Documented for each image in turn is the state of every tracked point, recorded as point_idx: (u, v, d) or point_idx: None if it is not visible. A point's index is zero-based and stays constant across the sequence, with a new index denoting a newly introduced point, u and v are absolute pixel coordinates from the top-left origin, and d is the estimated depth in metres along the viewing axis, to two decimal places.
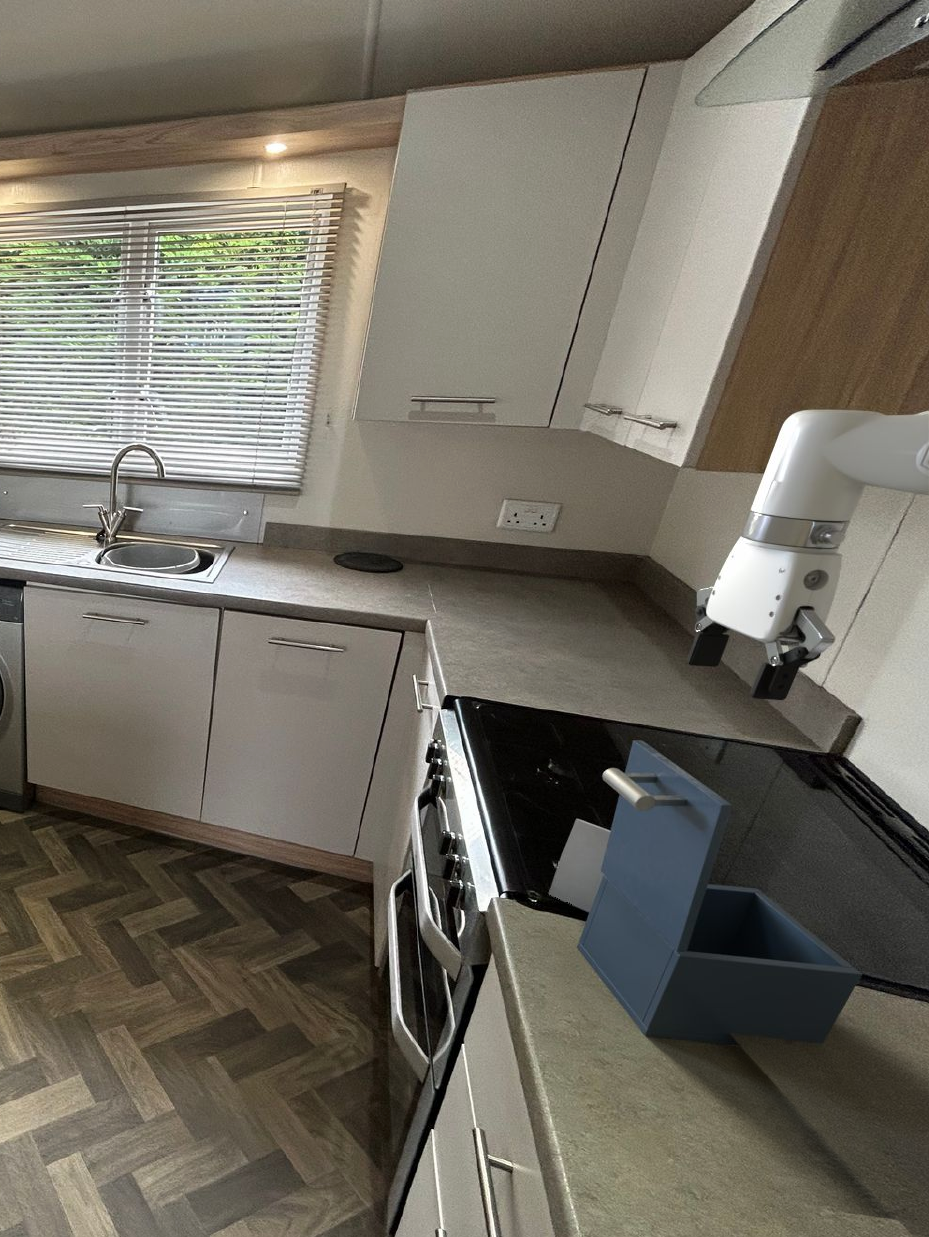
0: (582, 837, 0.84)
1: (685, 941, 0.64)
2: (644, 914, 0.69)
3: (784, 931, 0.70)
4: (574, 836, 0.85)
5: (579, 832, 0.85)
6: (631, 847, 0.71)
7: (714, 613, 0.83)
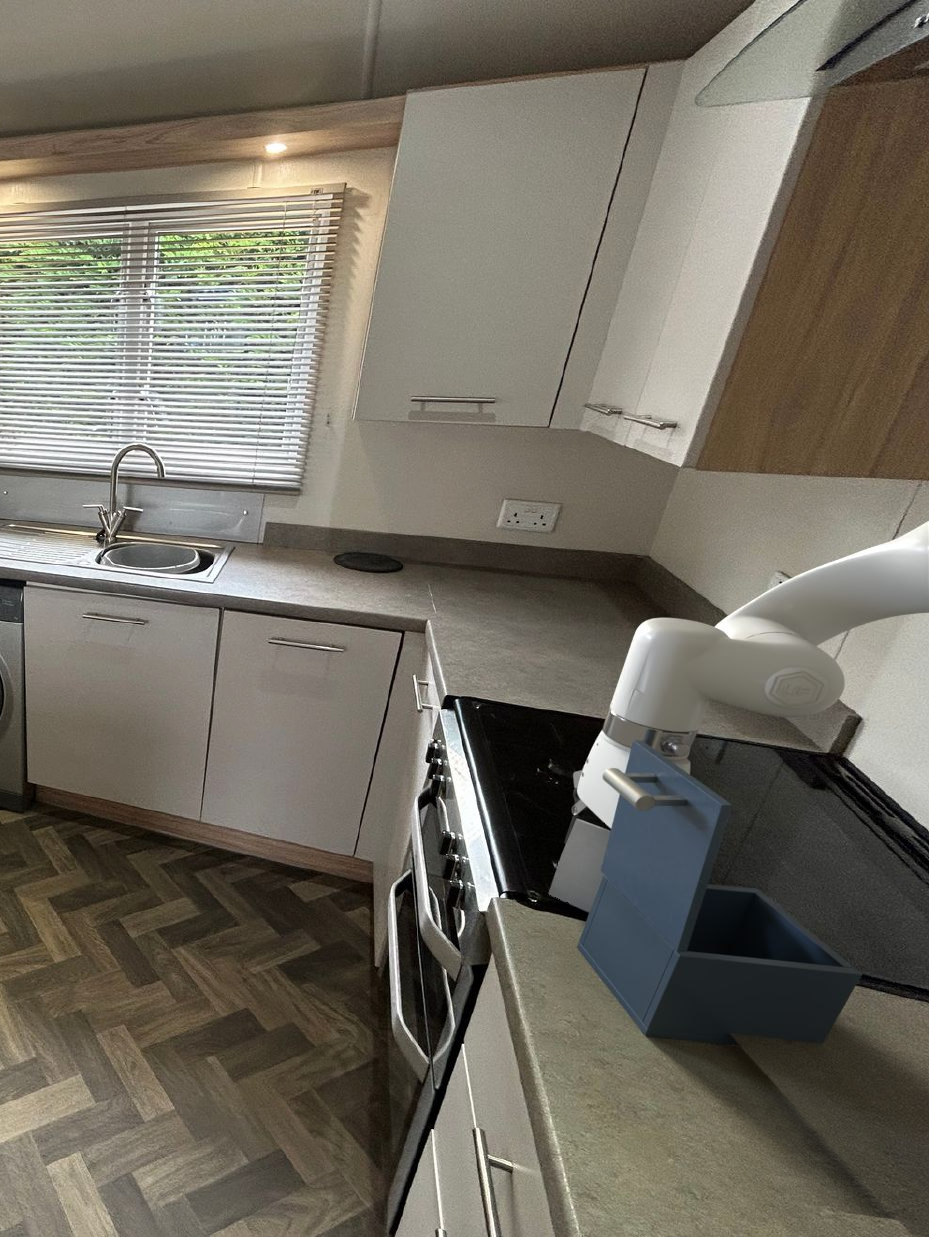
0: (582, 837, 0.84)
1: (685, 941, 0.64)
2: (644, 914, 0.69)
3: (784, 931, 0.70)
4: (574, 836, 0.85)
5: (579, 832, 0.85)
6: (631, 847, 0.71)
7: (583, 795, 0.85)
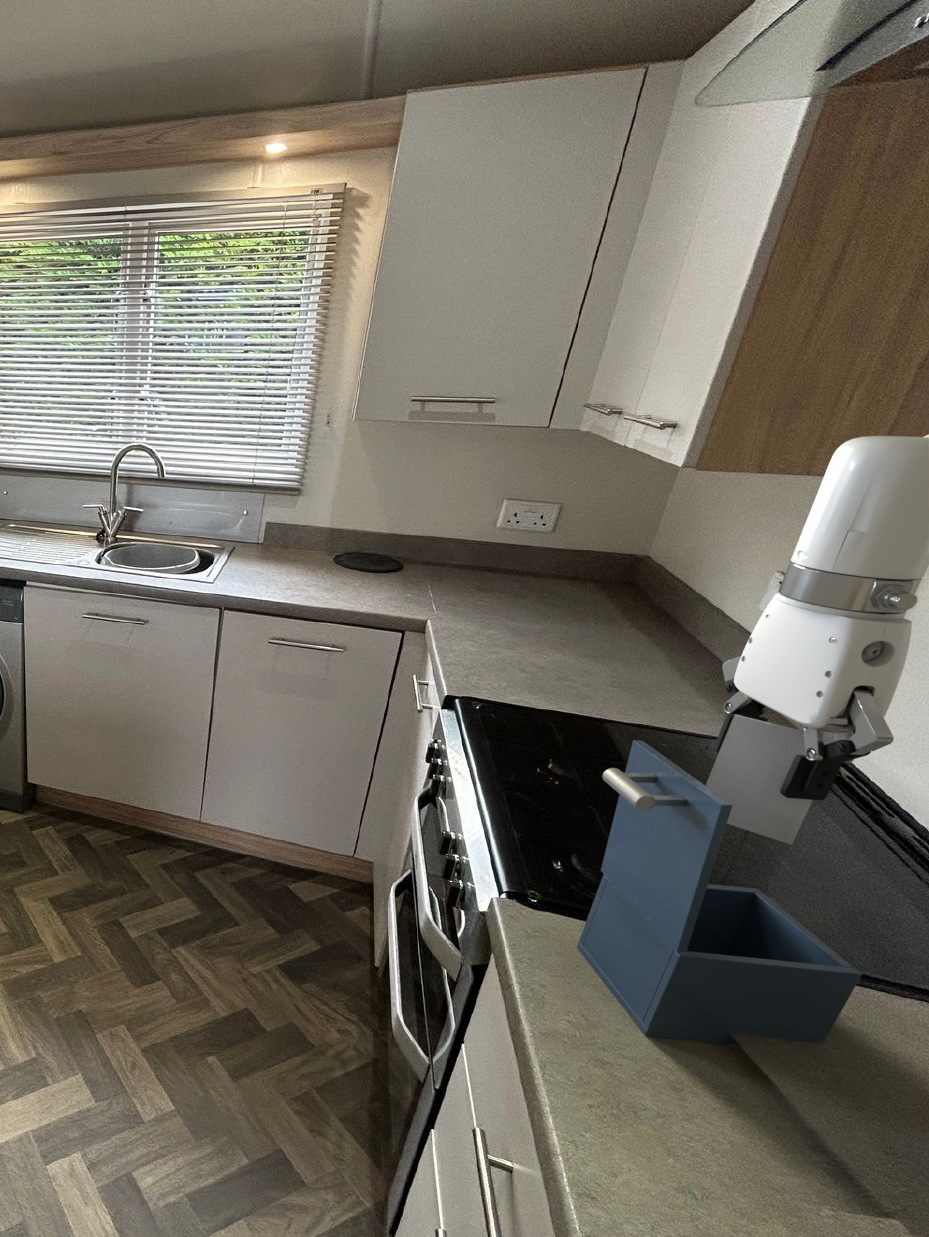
0: (744, 737, 0.67)
1: (685, 941, 0.64)
2: (644, 914, 0.69)
3: (784, 931, 0.70)
4: (732, 736, 0.67)
5: (739, 731, 0.67)
6: (631, 847, 0.71)
7: (744, 684, 0.67)
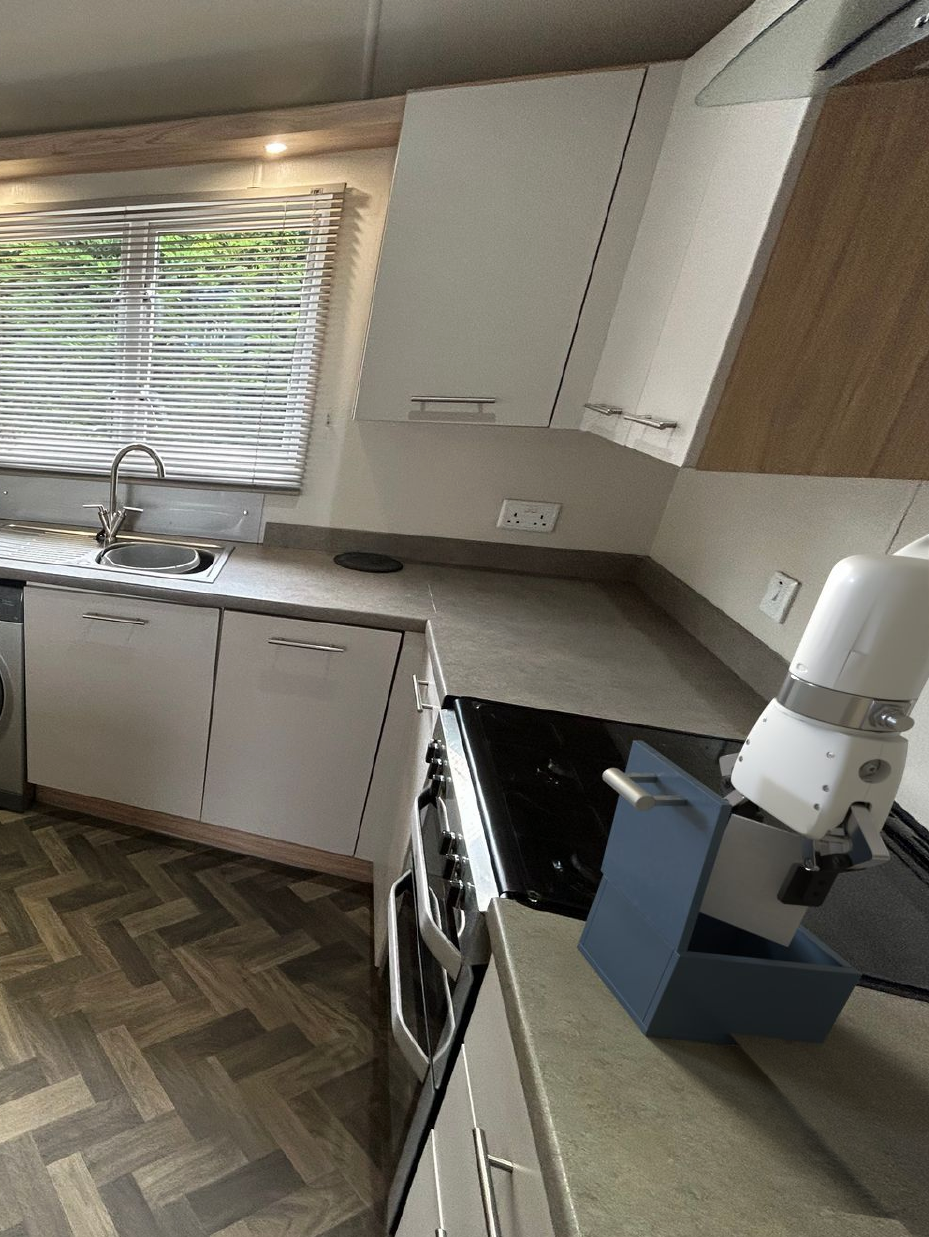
0: (741, 837, 0.67)
1: (685, 941, 0.64)
2: (644, 914, 0.69)
3: None
4: (729, 836, 0.68)
5: (736, 831, 0.67)
6: (631, 847, 0.71)
7: (741, 784, 0.68)
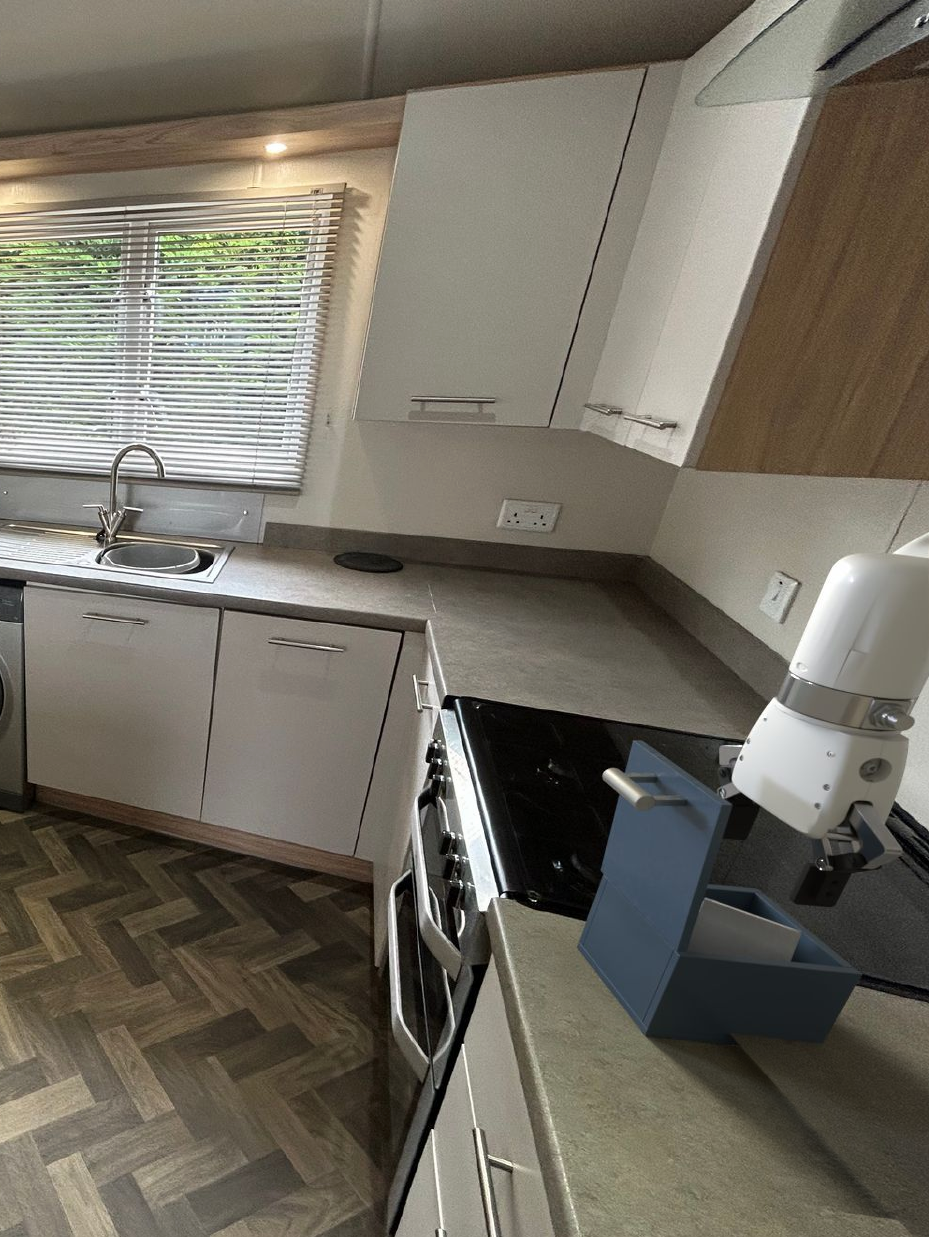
0: (714, 920, 0.70)
1: (685, 941, 0.64)
2: (644, 914, 0.69)
3: None
4: (704, 919, 0.71)
5: (710, 914, 0.70)
6: (631, 847, 0.71)
7: (742, 784, 0.68)
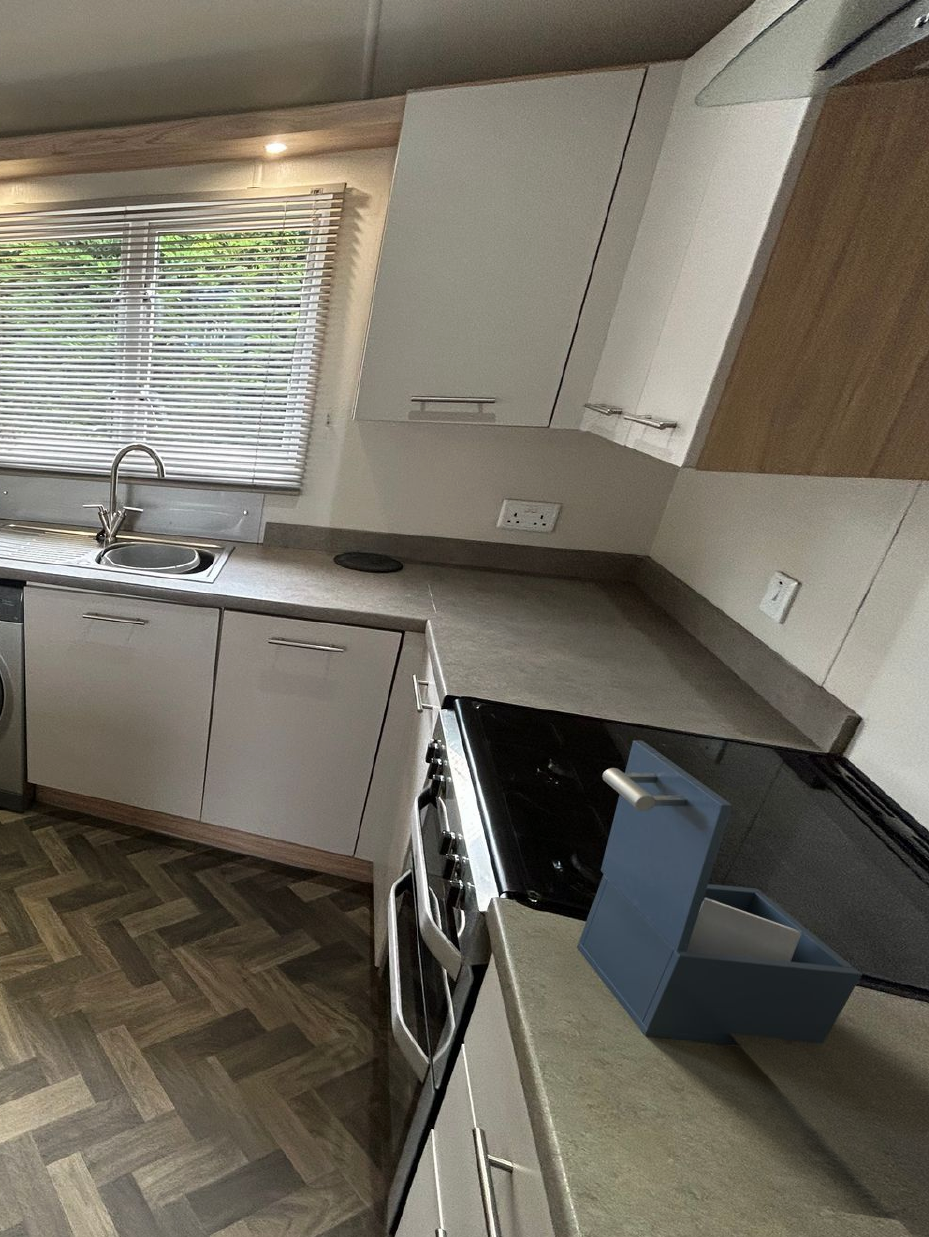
0: (714, 920, 0.70)
1: (685, 941, 0.64)
2: (644, 914, 0.69)
3: None
4: (704, 919, 0.71)
5: (710, 914, 0.70)
6: (631, 847, 0.71)
7: None
